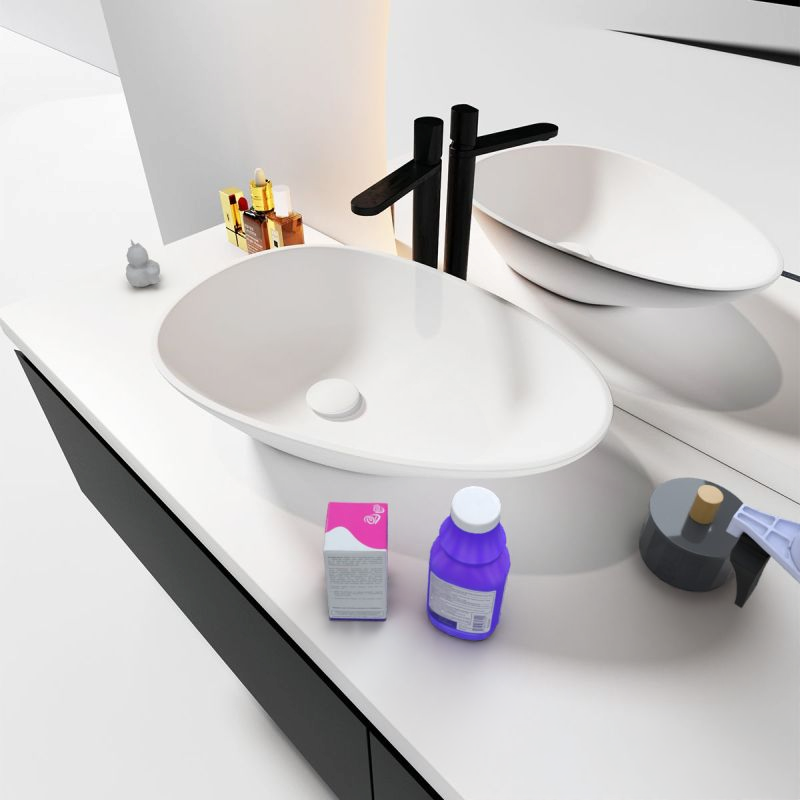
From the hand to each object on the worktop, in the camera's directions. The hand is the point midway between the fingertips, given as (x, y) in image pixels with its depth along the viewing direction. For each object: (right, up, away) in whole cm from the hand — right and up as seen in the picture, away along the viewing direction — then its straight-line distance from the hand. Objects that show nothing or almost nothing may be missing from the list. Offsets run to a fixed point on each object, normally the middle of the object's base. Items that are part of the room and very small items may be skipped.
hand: (787, 626), depth 58 cm
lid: (-2, +7, +12) cm, 14 cm away
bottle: (-26, -3, +10) cm, 28 cm away
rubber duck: (-74, +38, +55) cm, 99 cm away
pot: (-2, +3, +16) cm, 16 cm away
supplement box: (-36, -1, +12) cm, 38 cm away
